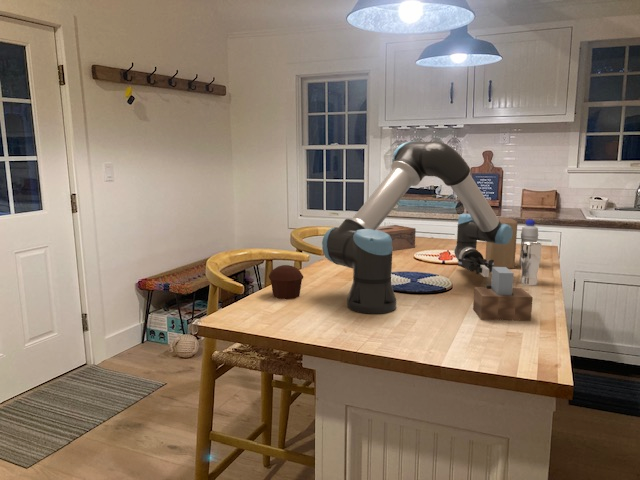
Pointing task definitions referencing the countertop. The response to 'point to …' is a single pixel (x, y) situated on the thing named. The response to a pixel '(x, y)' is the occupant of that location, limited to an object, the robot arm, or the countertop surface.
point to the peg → (502, 281)
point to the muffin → (286, 282)
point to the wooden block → (503, 248)
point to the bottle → (529, 233)
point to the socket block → (502, 304)
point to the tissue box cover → (400, 236)
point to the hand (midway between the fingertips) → (486, 273)
